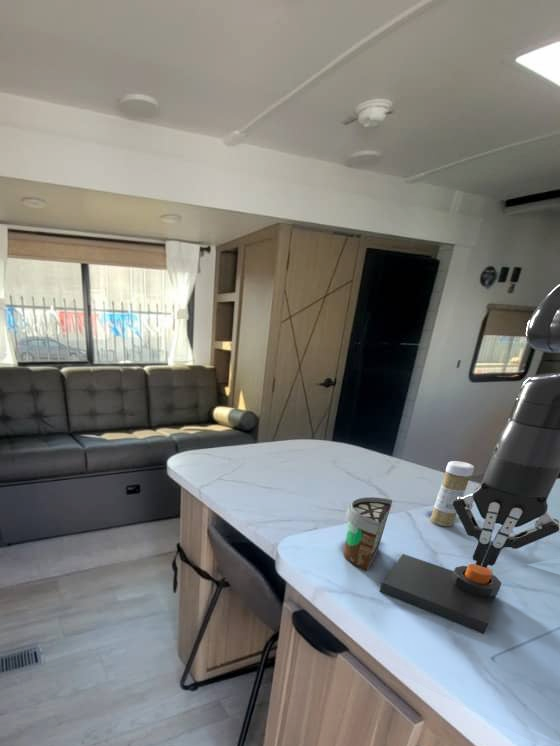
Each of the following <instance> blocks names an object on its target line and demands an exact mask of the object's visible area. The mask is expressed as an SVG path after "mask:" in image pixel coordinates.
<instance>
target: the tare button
mask: <svg viewBox="0 0 560 746" xmlns="http://www.w3.org/2000/svg"><path fill="white" fill-rule="evenodd" d="M467 566H468V567H467V570H466V572H465V577H466V578H468V579H470V580H471V581H474V582H477V583H480V584H488V583H489V581H490V579H491V576H492V575H494V573H493V570H492V569H490V568H489V567H487V568H485V567H482V565H481V566H479V565H476V563H470V564H468V565H467Z"/></svg>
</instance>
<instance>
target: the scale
mask: <svg viewBox="0 0 560 746" xmlns="http://www.w3.org/2000/svg"><path fill="white" fill-rule="evenodd" d="M467 567H468V565H461V566H455V568H454V570H452V569H449V568H445V567H442V566H441V565H437V564H434V563H432V562H428V561H425V560H422V559H420V558H416V557H414V556H411V555H408V554H404V553H402V555H401V556H400V557H399V559H398V560H397V561H396V563H395V564H394V565H393V567H392V568H391V570H390V571H389V572H388V573H387V575H386V577H384V579H383V581H382V582H381V584H380V588H379V591H378V592H379V593H381V594H383V595H386V596H388V597H391V598H393V599H395V600H398V601H401V602H403V603H405V604H408V605H411V606H413V607H415V608H418V609H421V610H423V611H426V612H428V613H431V614H433V615H436V616H437V617H440V618H443V619H446V620H447V621H449V622H452V623H454V624H457V625H460V626H463V627H465V628H467V629H470V630H472V631H475V632H477V633H480V634H482V635H485V632H486V631H487V628H488V626H489V623H490V619H491V616H492V612H493V608H494V604H495V601H496V596H497V595H498V593H499V591H500V589H501V586H502V581H501V580H500V579H499V578H498V577H497V576H496V575H494V574H492V576H491V579H490V581H489V583H488V584H480V583H477V582H474V581H471V580H470V579H468V578H466V577H465V572H466V570H467Z"/></svg>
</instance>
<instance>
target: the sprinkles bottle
mask: <svg viewBox="0 0 560 746" xmlns="http://www.w3.org/2000/svg"><path fill="white" fill-rule="evenodd" d="M474 470H475V466H474V465H473V464H471V463H468V462H465V461H459V460H451V461H448V462H447V464H446V468H445V474H444V477H443V480H442V483H441V485H440V488H439V491H438V493H437V497H436V500H435V503H434V507H433V510H432V513H431V516H430V517H429V520H430V522H431V523H433V524H435V525H437V526H441V527H453V526H454V525H455V520H456V517H457V515H458V514H457V512H456V510H455V508H454V506H453V502H454V500H455V499H456V498H457V497H458V496H463V497H464V496H465V493H466V490H467V487H468V484H469V480H470V478H471V477H472V475H473V473H474Z"/></svg>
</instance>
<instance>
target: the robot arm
mask: <svg viewBox="0 0 560 746" xmlns="http://www.w3.org/2000/svg"><path fill="white" fill-rule="evenodd" d="M525 335H526V342H527V343H528V345H529V346H530V347H531V348H532V349H533V350H534V351H535V350H536V351H538V352H542V353H550V354H560V283H559V284H558V285H557V286H555V288H553V289H552V290H551V291H549V293H548V294H547V295H546V296H545V297H544V298H543V299H542V300H541V301H540V303H538V305H537V306H536V308H535V309H534V311H533V312H532V314H531V316H530V318H529V320H528V322H527V326H526V332H525ZM559 475H560V372H553V373H551V372H550V373H540V374H535V375H532V376H529V377H528V378H527V379H526V380H525V381H524V382H523V384H522V385H521V387H520V389H519V392H518V395H517V397H516V400H515V402H514V404H513V407H512V410H511V412H510V415H509V418H508V419H507V422H506V423H505V426H504V428H503V429H502V430H501V433H500V435H499V437H498V439H497V442H496V444H495V445H494V447H493V452H492V454H491V458H490V460H489V463H488V465H487V468H486V470H485V473H484V475H483V478H482V480H481V483H480V485H479V486H477V487H476V488H475V489H474V491H473V492H472V493H471V494H468V495H463V496H458V497H457V498H456V499H455V500H454V502H453V506H454V508H455V510H456V512H457V514H456V515H457V517H458V518H459V520H460V522H461V524H462V527H463V528H464V530H465V532H466V534H467V536H469V537H473V538H474V539H476V540H477V544H476V547H475V550H474V552H473V555H472V560H473V561H475V564H476V565H479V566H481V565H482V567H485V568H488V567H489V566H491V567H493V566H494V565H495V564H496V562H497V560H498V558H499V555H500V554H501V551H502V550H503V549H504V548H505V549H506V548H511V549H513V550H517V549H520V548H522V547H524V546H528V545H530V544H532V543H535V542H537V541H539V540H542V539H544V538H546V537H549V536H551V535H553V534H556V533H558V532H559V530H560V521H559V519H556V518H553V517H552V516H551V515H550V514H549V513H548V507H549V506H548V502H547V500H548V499H549V496H550V494H551V492H552V490H553V487H554V485H555V483H556V481H557V479H558V477H559ZM474 503H475V506H476V508H477V511H478V513H479V515H480V516H481V518H482V519H483V520H484V521H483V525H482V527H480V525H479V524H478V522H477V519H476V518H475V515H474V514H473V512H472V509H473V507H474ZM536 519H537V520H536ZM534 520H536V521H535V522H534V526H532V527H529V528H528V529H525V530H523V531H520V532H519V533H516V534H514V535H511V534H512V532H513V530H514V529H515V528H519V527H522V526H524V525H526V524H528V523H530V522H532V521H534ZM496 524H499V525H500V527H499V529H498V531H497V533H496V534H495V536H494V539H493V541H492V540H491V539H492V535H493V532H494V528H495V526H496Z"/></svg>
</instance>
